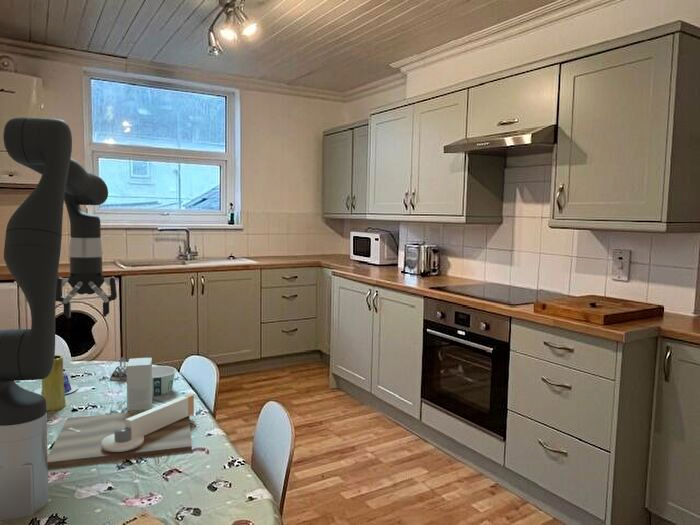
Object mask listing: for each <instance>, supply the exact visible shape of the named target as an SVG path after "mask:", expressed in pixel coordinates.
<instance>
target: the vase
mask: <svg viewBox="0 0 700 525" xmlns="http://www.w3.org/2000/svg"><path fill="white" fill-rule="evenodd" d="M63 373H64V357H63V355H60V354H59V355H58V354H55V357H54V363H53V367H52V370H51V372H50V374H49V375H48V376H47V377H46V378H45V379H41V387H42V396H43V397H44V398H45V400H46V409H47V411H46V412H51V411H53V412H54V411H57V410H61V409H64V408H65V407H66V396H65V395H66V394H65V393H64V376H63Z"/></svg>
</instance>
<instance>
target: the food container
mask: <svg viewBox="0 0 700 525" xmlns="http://www.w3.org/2000/svg"><path fill="white" fill-rule="evenodd" d="M176 372H177V369H176V368H175V367H173V366H168V365H155V366H153V365H152V397H155V396H157V395H158V396H163V395H167V394H169V393H171V392H172V391H173V388H174V387H173V385H174V382H175V381H174V380H175V374H176ZM170 391H171V392H170ZM166 393H167V394H166ZM158 396H157V397H158Z"/></svg>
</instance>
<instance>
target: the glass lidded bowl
mask: <svg viewBox="0 0 700 525" xmlns="http://www.w3.org/2000/svg"><path fill="white" fill-rule="evenodd" d="M118 363H119V365H118V366H116V367H115V369H114V371H113V372H112V373H111V376H109V380H110V381H126V382H127V368H126V366H127V364H126V363H127V360H126V358H125V357H124V356H122V357H121V358H120V359H119V362H118Z"/></svg>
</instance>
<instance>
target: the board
mask: <svg viewBox="0 0 700 525" xmlns="http://www.w3.org/2000/svg"><path fill="white" fill-rule="evenodd" d="M145 411H146V410H145ZM145 411H142V410H141V411H132V412H131V411H130V412H121V413H111V414H100V415H99V414H97V415H87V416H76V417H68V418H66V421H65V422H64V424H63V425H62V428H61V430H60V433H58V436H57V438H56V440H55V442H54V444H52V445H53V446H52V448H51V449H50V451H49V454H48V469H50V468H59V467H67V466H74V465H75V466H76V465H82V464H92V463H101V462H107V461H108V462H109V461H119V460H125V459H133V458H143V457H150V456H151V457H152V456H158V455H160V456H161V455H167V454H168V455H169V454H174V453H175V454H176V453H185V452H192V447H193V446H192V436H191V434H192V433H191V423H190V416H187V417H185V418H182V419H180V420H178V421H176V422H174V423H171V424H169V425H167V426H165V427H162V428H160V429H158V430H156V431H154V432H151V433H149V434H147V435H145V436H144V443H143V444H142V445H141V446H139V447H137V448H135V449H132V450H129V451H124V452H108V451H105V450H103V449H102V440H103V439H104V438H105V437H107V436H109V435H112V434H114V431H115V430H116V429H118V428H121V427H126V422H125V419H127V418H130V417H132V416H135V415H137V414H140V413H142V412H145Z"/></svg>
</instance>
